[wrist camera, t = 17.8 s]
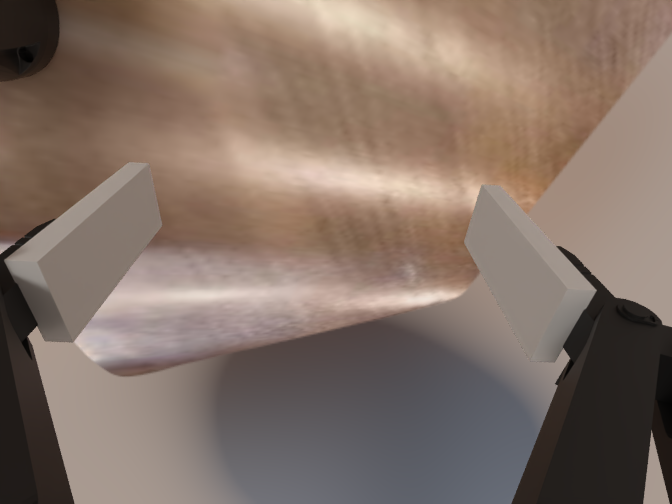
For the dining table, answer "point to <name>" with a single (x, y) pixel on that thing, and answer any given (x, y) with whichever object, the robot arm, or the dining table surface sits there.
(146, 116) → the dining table surface
